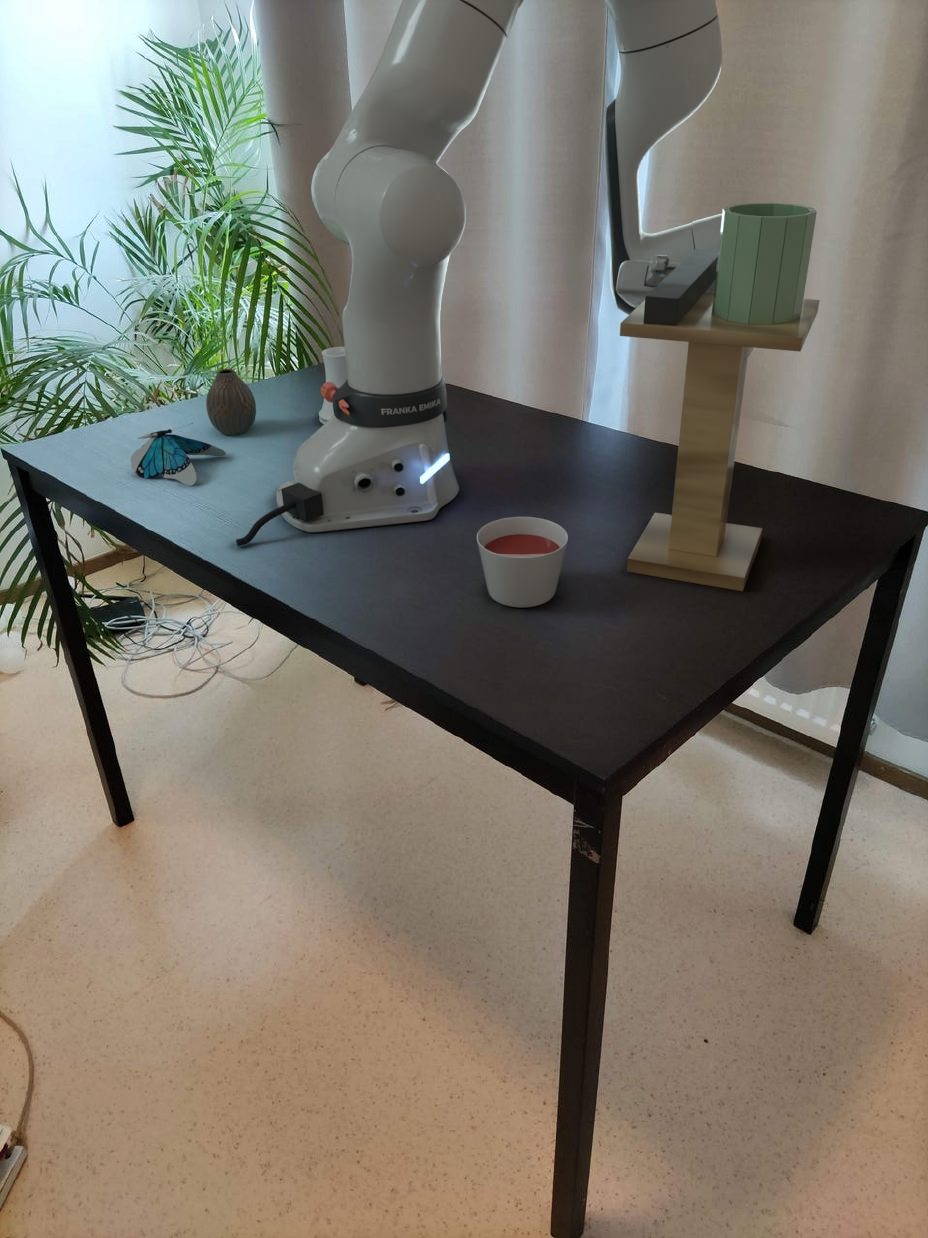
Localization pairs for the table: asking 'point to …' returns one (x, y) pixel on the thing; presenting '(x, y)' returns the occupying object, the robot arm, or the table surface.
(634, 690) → the table surface
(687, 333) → the birch stand
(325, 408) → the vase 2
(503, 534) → the white sauce bowl
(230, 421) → the vase
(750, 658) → the table surface
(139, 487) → the table surface
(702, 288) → the black bar
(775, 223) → the green cup
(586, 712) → the table surface
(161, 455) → the decorative butterfly
